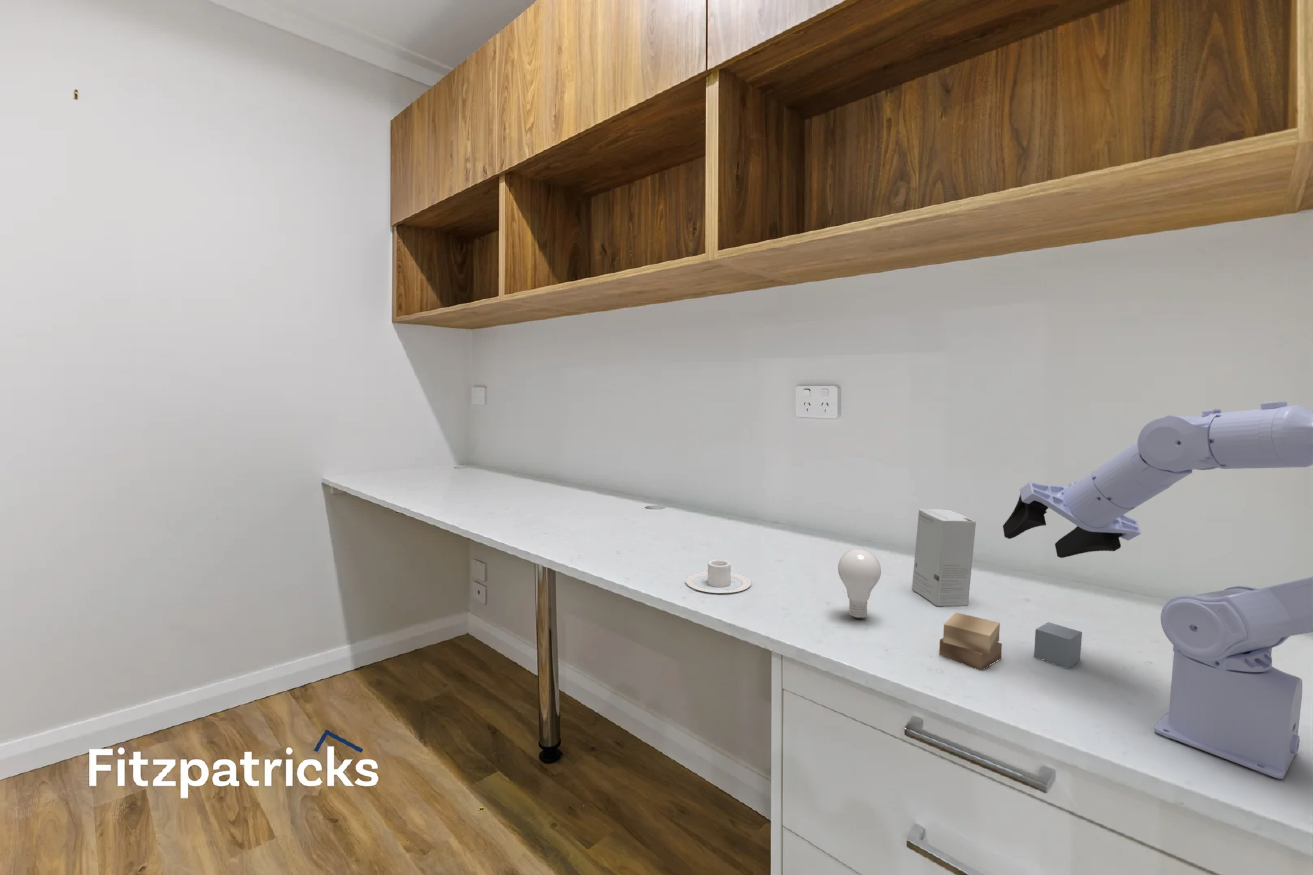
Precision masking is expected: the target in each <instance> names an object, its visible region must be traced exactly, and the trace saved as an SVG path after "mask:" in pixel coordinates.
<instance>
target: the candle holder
mask: <svg viewBox="0 0 1313 875" xmlns="http://www.w3.org/2000/svg"><path fill="white" fill-rule="evenodd" d="M731 566H732V564H731V562H730V561H728V560H724V559H712V560H708V562H707V571H701V572H696V573H693V574H690V575H689V576H687V577H686V578H685V581H684V582H685V584H686V585H688V587H690V588H692V589H694V590H696V591H700V592H705V593H712V594H732V593H738V592H742V591H745V590H747V589H749V588H750V587H751V586H752V581H751V580H750V578H748V577H747V576H746V575H745V576H744V575H742V574H740V573H735V572H732V571H731V568H732V567H731ZM704 577H707V585H708V586H711V587H713V588H726V587H729V586H730V585H731V580H732V579H734V580H736V581H738V582H739V583H740V586H739V587H737V588H734V589H726V590H715V589H714V590H713V589H706V588H702V587H700V586H697V585H695V581H696V580H698V579H701V578H704ZM731 578H732V579H731Z"/></svg>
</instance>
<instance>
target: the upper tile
mask: <svg viewBox="0 0 1313 875" xmlns="http://www.w3.org/2000/svg"><path fill="white" fill-rule="evenodd" d="M1000 628H1001V623H1000V622H999V621H993V620H989V619H986V618H982V617H977V616H974V615H970V614H969V615H968V614H966V613H965V614H964V613H961V612H957V611H955V613H953V615H952V616H950V617H949V618H948V619H947V620H946V621H945V623H944V624H943V634H942V635H943V636H942V638H943V642H944V643H948V644H951V645H955V646H959V647H963V648H966V649H970V650H974V651H977V652H981V653H984V654H988V655H989V654H990V653H991V651H992V650H993V648H994V647H995V646H996V644H997V643H998V642H999V641H1000V632H1001V631H1000V630H1001V629H1000Z"/></svg>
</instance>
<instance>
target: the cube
mask: <svg viewBox="0 0 1313 875" xmlns="http://www.w3.org/2000/svg"><path fill="white" fill-rule="evenodd" d="M1034 636H1035V637H1034V651H1033V658H1035V657H1036V658H1035V659H1038V658H1039V659H1038V660H1041V659H1044V660H1045V661H1044V660H1043V661H1044V662H1047V661H1048V662H1047V663H1049V662H1050V663H1049V664H1052V663H1054V664H1053V665H1055V664H1056V665H1055V666H1058V665H1059V666H1058V667H1062V668H1065V669H1067V668H1068V669H1070V668H1072V667H1073V666H1074V665H1076V664H1077V663H1078V662H1080V661H1081V654H1082V652H1081V651H1082V638H1083V631H1080V630H1077V629H1075V628H1074V629H1073V628H1070V627H1066V626H1064V625H1059V624H1055V623H1053V622H1049V621H1048V622H1046V623H1044V624H1042V625H1040V626H1039V627H1037V628H1035V635H1034Z"/></svg>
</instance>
